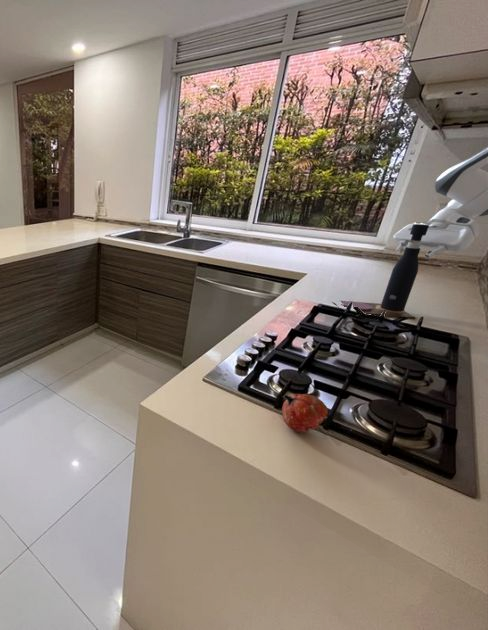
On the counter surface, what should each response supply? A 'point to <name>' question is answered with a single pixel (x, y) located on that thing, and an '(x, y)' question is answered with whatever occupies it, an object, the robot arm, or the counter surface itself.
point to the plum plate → (358, 305)
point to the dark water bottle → (404, 273)
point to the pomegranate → (303, 412)
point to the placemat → (378, 310)
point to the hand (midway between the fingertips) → (412, 254)
